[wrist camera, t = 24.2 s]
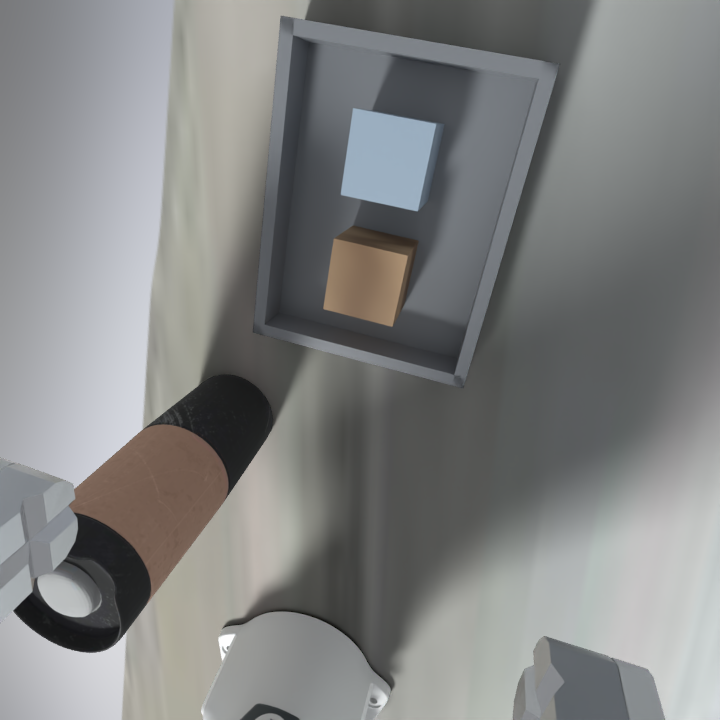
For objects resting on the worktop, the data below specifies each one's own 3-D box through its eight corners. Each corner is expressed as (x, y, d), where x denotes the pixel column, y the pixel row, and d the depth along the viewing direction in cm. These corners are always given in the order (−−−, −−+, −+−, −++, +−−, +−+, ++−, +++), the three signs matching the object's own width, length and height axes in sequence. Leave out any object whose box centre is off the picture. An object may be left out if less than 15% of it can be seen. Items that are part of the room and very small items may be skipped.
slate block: (427, 201, 33) (417, 211, 29) (359, 186, 34) (340, 194, 30) (444, 124, 31) (436, 123, 27) (371, 110, 32) (353, 108, 28)
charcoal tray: (466, 366, 38) (463, 388, 35) (272, 316, 40) (252, 332, 37) (553, 70, 29) (560, 63, 26) (302, 26, 32) (280, 15, 28)
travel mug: (194, 439, 47) (7, 630, 29) (191, 362, 43) (-21, 526, 26) (274, 459, 45) (130, 672, 28) (278, 381, 42) (116, 567, 24)
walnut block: (418, 240, 34) (408, 255, 30) (404, 304, 36) (392, 326, 32) (352, 225, 35) (333, 238, 31) (342, 289, 37) (323, 308, 33)
